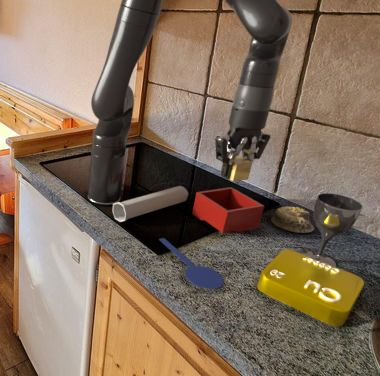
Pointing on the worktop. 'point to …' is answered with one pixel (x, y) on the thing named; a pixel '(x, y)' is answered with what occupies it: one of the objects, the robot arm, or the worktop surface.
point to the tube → (149, 203)
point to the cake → (292, 219)
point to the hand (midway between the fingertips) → (233, 176)
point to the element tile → (311, 286)
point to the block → (240, 169)
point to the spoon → (197, 271)
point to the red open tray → (228, 210)
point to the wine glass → (333, 220)
